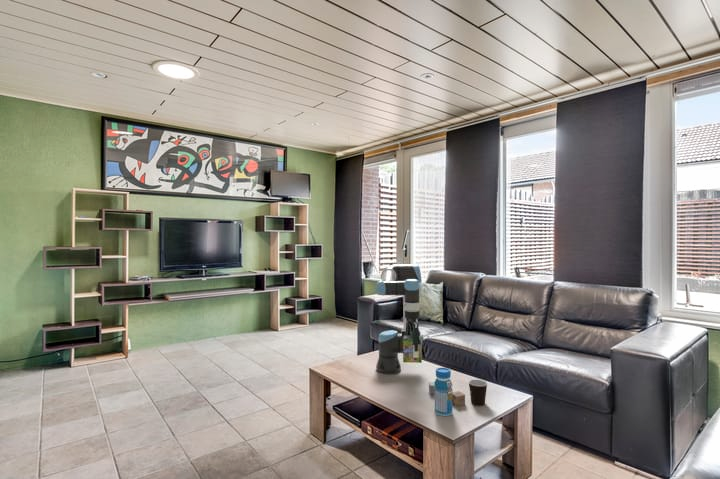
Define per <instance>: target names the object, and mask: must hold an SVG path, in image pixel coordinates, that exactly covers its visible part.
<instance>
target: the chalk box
mask: <svg viewBox="0 0 720 479" xmlns="http://www.w3.org/2000/svg"><path fill="white" fill-rule="evenodd" d="M419 338H420V344H419V358H413V345H412V343H413V338H412V332H411V331H410V335H404V337H403V353H402V357H403V358H402V360H403V363H413V364H414V363H415V364H417V363H418V364H419V363H420V364H422V361H423V358H422V357H423V354H422V353H423V352H422V349H423V348H421V336H419Z"/></svg>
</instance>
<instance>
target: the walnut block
mask: <svg viewBox="0 0 720 479" xmlns="http://www.w3.org/2000/svg"><path fill="white" fill-rule="evenodd" d="M465 405H466V394H464V393H463V392H461V391H459V390H457V391H453V392H452V406H454V407H456V408H457V407H461V406H465Z"/></svg>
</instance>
